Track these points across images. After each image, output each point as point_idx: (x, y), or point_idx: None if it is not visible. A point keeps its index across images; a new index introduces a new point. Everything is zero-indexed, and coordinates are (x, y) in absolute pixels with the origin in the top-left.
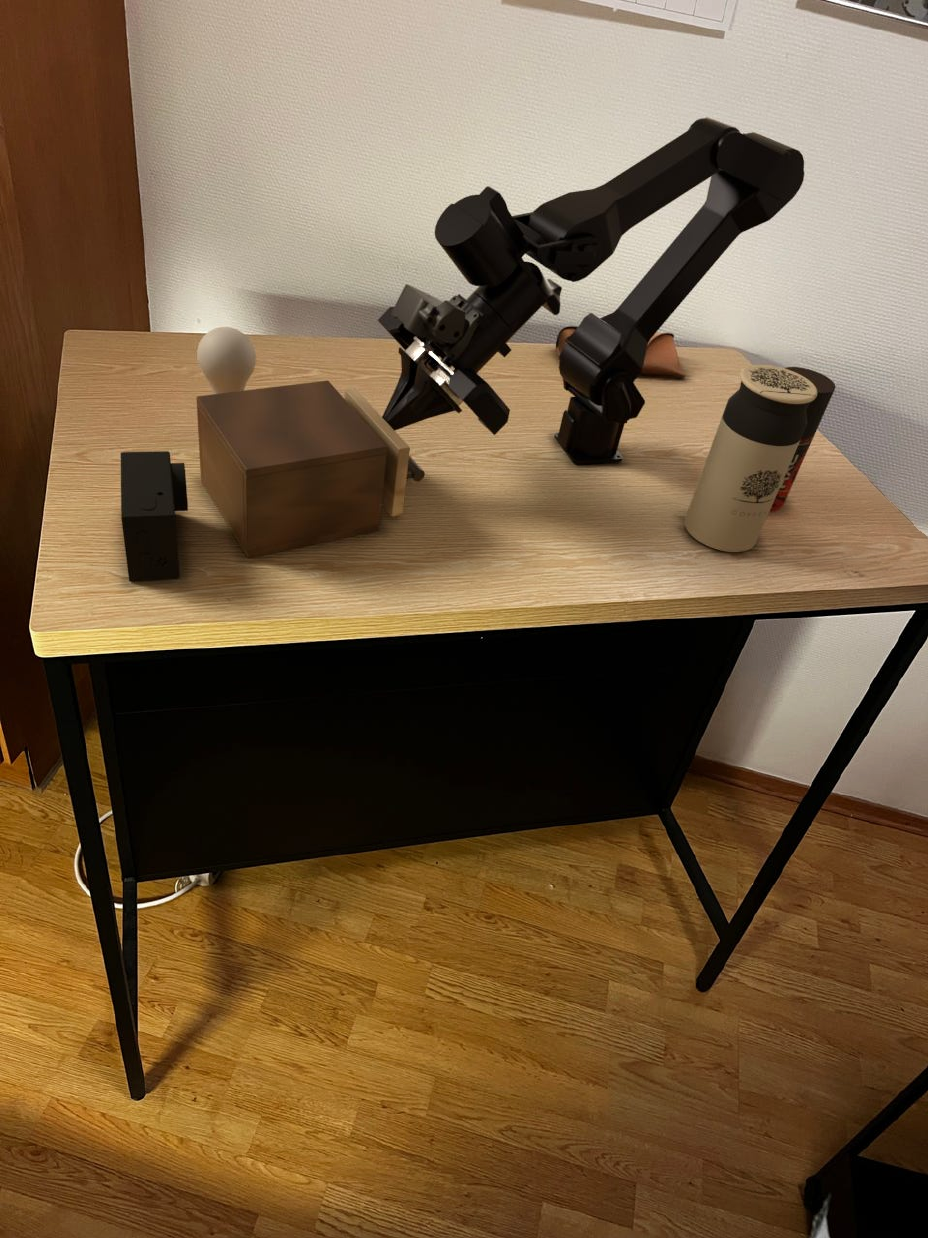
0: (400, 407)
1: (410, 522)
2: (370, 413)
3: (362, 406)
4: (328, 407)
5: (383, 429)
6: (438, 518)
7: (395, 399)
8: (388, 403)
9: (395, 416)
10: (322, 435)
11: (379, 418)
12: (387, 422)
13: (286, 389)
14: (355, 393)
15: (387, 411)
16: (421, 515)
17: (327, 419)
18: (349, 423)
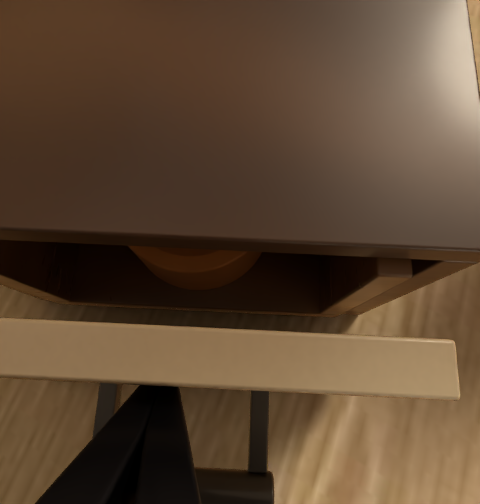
0: (65, 485)
1: (32, 391)
2: (194, 344)
3: (267, 339)
4: (236, 136)
5: (36, 328)
6: (8, 477)
7: (148, 501)
8: (188, 460)
9: (90, 443)
10: (38, 25)
11: (136, 364)
12: (124, 404)
13: (438, 48)
14: (401, 371)
15: (160, 431)
16: (43, 437)
17: (144, 92)
18: (73, 159)
